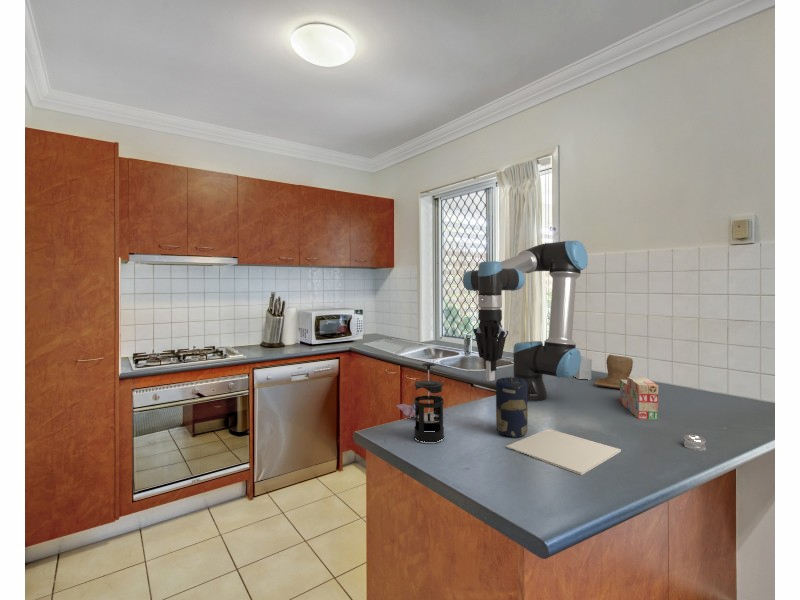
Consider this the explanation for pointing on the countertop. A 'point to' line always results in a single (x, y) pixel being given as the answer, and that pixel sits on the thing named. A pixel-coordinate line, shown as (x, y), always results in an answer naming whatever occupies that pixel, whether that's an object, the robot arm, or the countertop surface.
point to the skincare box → (584, 369)
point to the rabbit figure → (407, 409)
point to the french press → (429, 419)
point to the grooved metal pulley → (694, 442)
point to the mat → (565, 450)
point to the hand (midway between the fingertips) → (490, 380)
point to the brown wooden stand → (616, 371)
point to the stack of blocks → (640, 397)
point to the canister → (511, 406)
